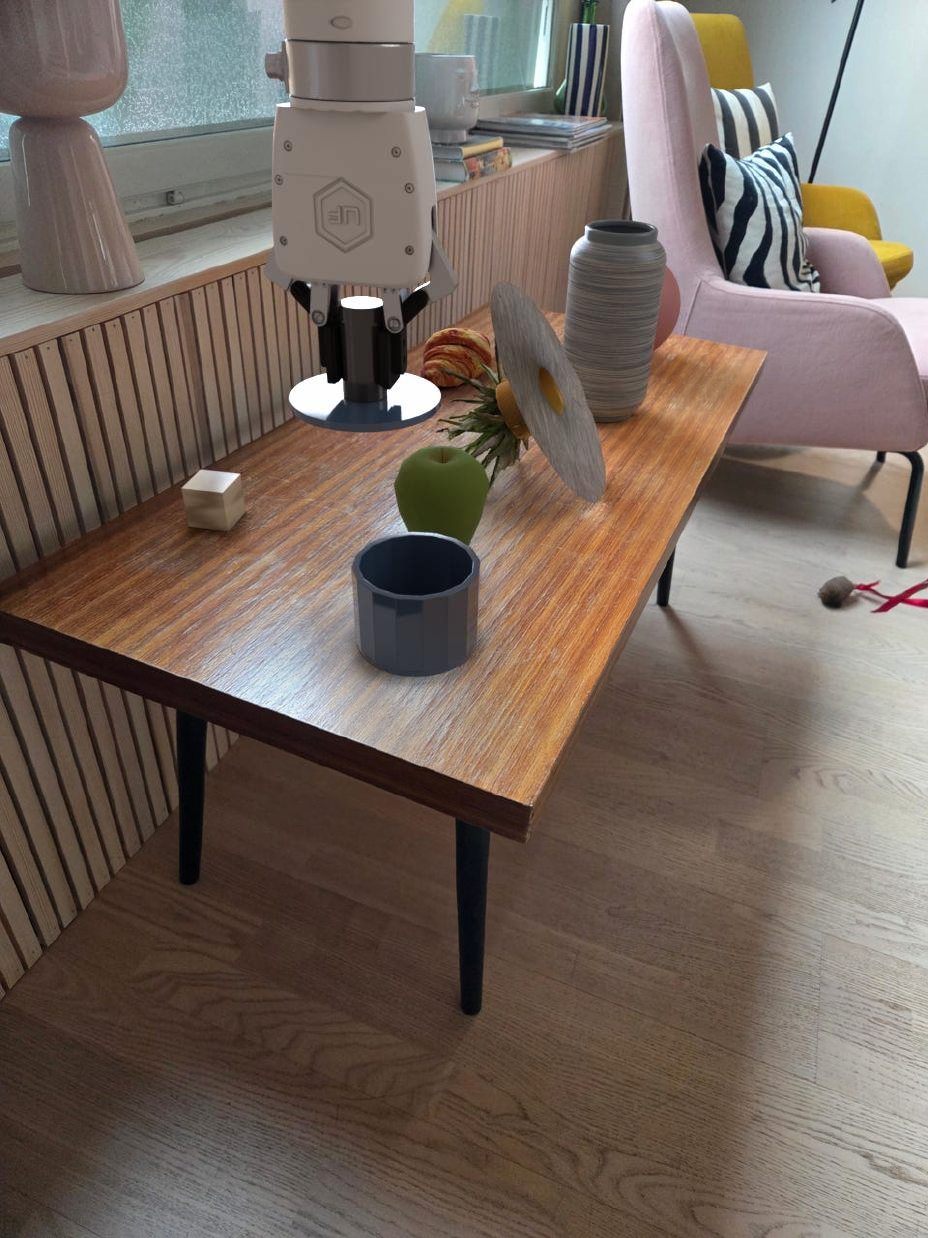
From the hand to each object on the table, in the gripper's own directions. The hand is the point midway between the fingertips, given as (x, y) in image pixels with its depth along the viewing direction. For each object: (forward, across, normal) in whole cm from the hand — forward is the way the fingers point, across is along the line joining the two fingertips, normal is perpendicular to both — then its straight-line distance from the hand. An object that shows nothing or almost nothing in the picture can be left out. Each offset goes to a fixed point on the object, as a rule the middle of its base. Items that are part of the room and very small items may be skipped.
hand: (364, 377), depth 61 cm
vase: (+22, +15, +55) cm, 61 cm away
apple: (+22, +3, +13) cm, 26 cm away
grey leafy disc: (+22, +8, +32) cm, 39 cm away
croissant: (+22, -6, +64) cm, 68 cm away
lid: (+2, 0, 0) cm, 2 cm away
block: (+22, -21, +14) cm, 34 cm away
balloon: (+22, +17, +75) cm, 80 cm away
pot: (+22, +4, -1) cm, 22 cm away
